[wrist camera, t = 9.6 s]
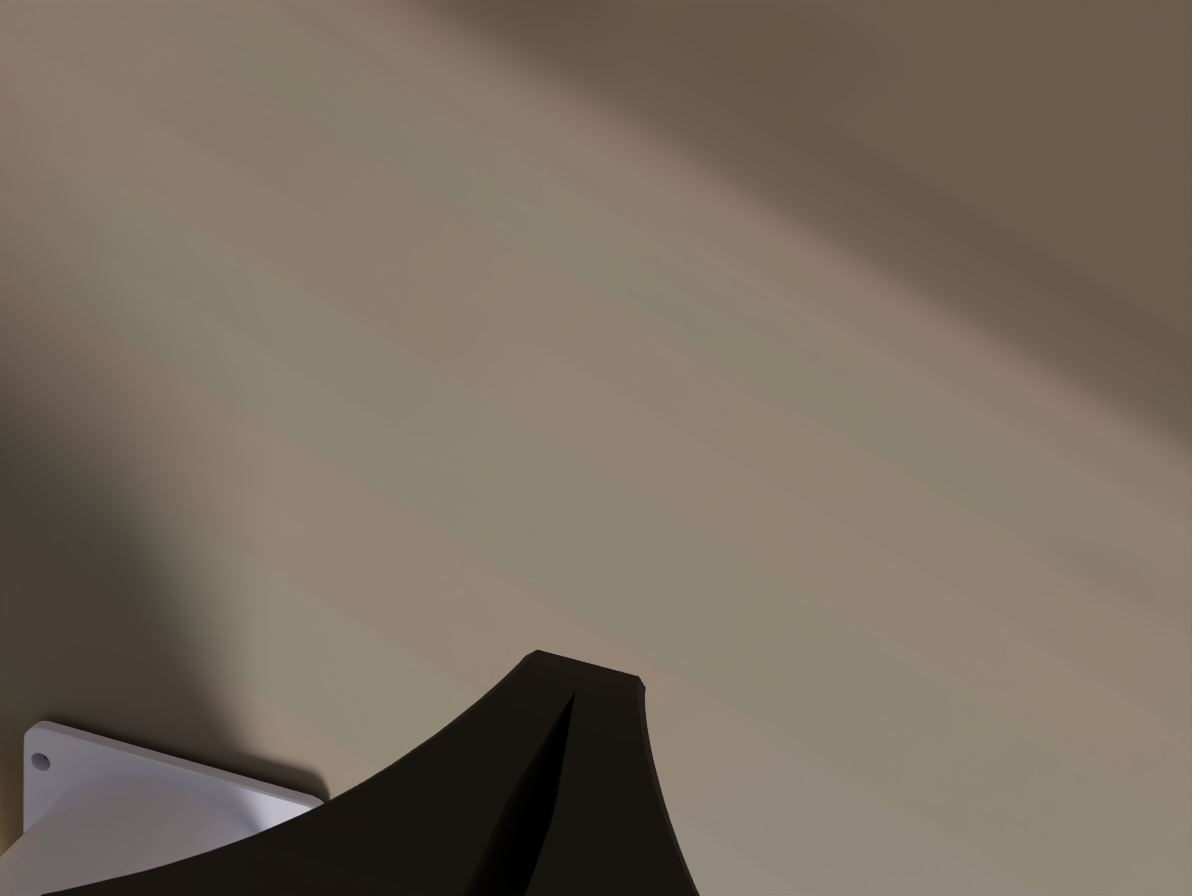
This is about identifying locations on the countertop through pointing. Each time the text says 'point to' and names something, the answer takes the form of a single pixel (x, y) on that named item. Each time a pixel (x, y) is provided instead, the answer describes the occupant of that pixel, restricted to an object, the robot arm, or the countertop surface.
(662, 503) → the countertop surface
